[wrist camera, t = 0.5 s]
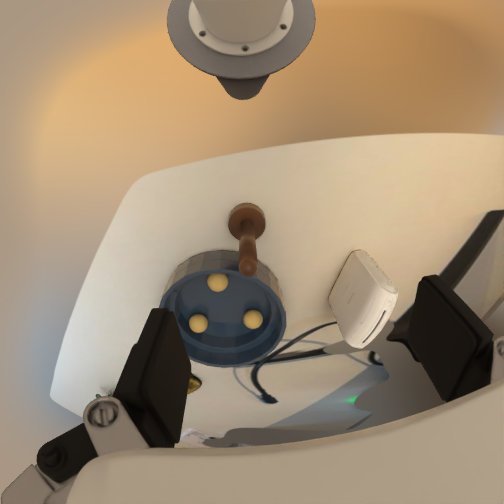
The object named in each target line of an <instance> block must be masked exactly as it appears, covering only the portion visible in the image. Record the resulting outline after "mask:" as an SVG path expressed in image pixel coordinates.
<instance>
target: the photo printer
mask: <svg viewBox="0 0 504 504" xmlns="http://www.w3.org/2000/svg"><path fill="white" fill-rule="evenodd" d="M397 296H398V290H397V288H396V287H395V286H394V285H393V283H392V282H391V281H390V279H389V278H388V277H387V276H386V274H385V273H384V272H383V271H382V269H381V268H380V267H379V266H378V264H377V263H376V262H375V261H374V259H373V258H372V257H370V256H369V255H368V253H367V252H365V251H363V250H357V251H353V252H352V253H351V255H350V256H349V258H348V260H347V262H346V263H345V265H344V267H343V269H342V271H341V273H340V275H339V277H338V279H337V281H336V283H335V285H334V287H333V289H332V291H331V293H330V296H329V304H330V306H331V309H332V311H333V314H334V316H335V318H336V321H337V323H338V326H339V328H340V331H341V333H342V335H343V338H344V339H345V341H346V342H347V343H348V344H349V345H351V346H352V347H357V348H363V347H364V346H366V345H368V344H369V343H370V342H371V341H372V340H373V339H374V338H375V337H376V336H377V335H378V333H379V332H380V331H381V329H382V328H383V327H384V325H385V323H386V322H387V320H388V318H389V317H390V315H391V313H392V311H393V308H394V306H395V303H396V300H397Z"/></svg>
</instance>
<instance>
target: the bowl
mask: <svg viewBox="0 0 504 504" xmlns="http://www.w3.org/2000/svg"><path fill="white" fill-rule="evenodd" d="M257 265H258V269H257V272H256V274H255V275H253V276H251V277H245V276H243V275H242V274H241V273H240V271H239V252H232V251H225V250H223V251H222V250H221V251H211V252H205V253H202V254H199V255H196V256H193V257H191V258H189V259H188V260H187V261H185V262H184V263H182V264H181V265H180V266H178V268H177V269H176V270H175V272H174V273H173V274H172V275H171V277H170V279H169V282H168V284H167V287H166V289H165V292H164V294H163V297H162V300H161V303H160V306H159V308H168V309H169V311H173V312H174V314H175V317H176V320H177V323H178V326H179V329H180V333H181V336H182V339H183V342H184V345H185V348H186V351H187V354H188V357H189V359H191V360H193V361H195V362H198V363H201V364H204V365H207V366H213V367H222V368H227V367H239V366H243V365H247V364H251V363H254V362H256V361H258V360H260V359H262V358H264V357H265V356H267V355H268V354H269V353H270V352H272V351H273V350H274V349H275V348H276V346H277V345H278V344H279V342H280V341H281V339H282V338H283V335H284V332H285V328H286V311H285V306H284V301H283V296H282V291H281V289H280V286H279V284H278V281H277V279H276V278H275V276H274V275H273V274H272V273H271V271H270V270H269V269H268V268H267V267H266V266H264V265H263V264H262V263H260V262H259V261H258V260H257ZM214 273H224V274H226V275H227V277H228V285H227V287H226V288H225V289H224V290H223V291H220V292H216V291H213V290H211V289H210V288H209V286H208V283H207V279H208V276H209V275H210V274H214ZM249 310H257V311H259V312H260V313H261V315H262V318H263V321H262V324H261V325H260V326H259V327H258V328H256V329H250V328H248V327H247V326H246V325H245V324H244V321H243V318H244V315H245V313H246V312H247V311H249ZM195 314H201V315H203V316H205V317H206V319H207V321H208V326H207V328H206V330H205V331H203V332H200V333H197V332H194V331H193V330H192V329H191V328H190V326H189V320H190V318H191V317H192V316H193V315H195Z"/></svg>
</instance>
